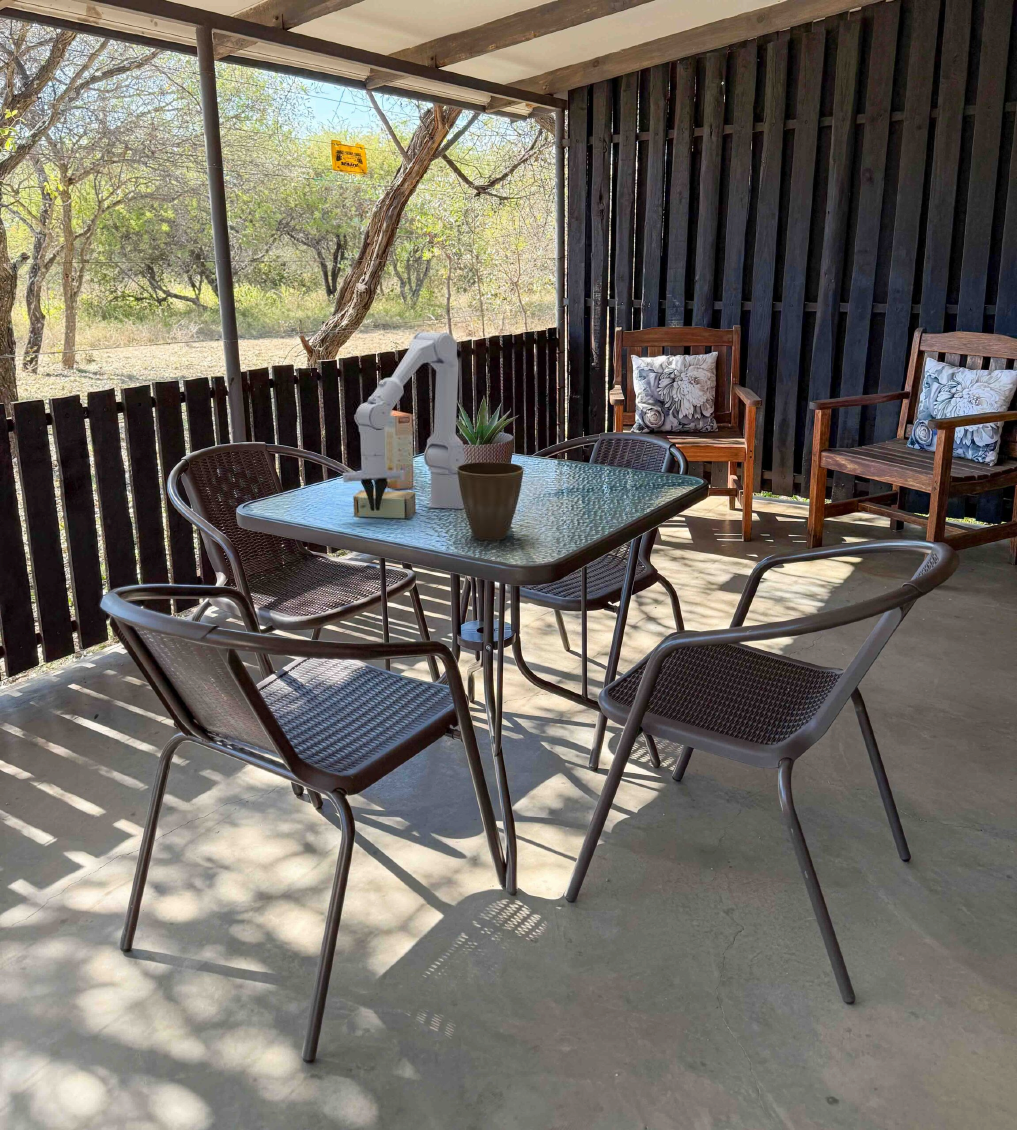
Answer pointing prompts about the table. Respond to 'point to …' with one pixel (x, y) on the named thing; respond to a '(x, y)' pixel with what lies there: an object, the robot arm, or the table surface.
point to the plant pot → (490, 497)
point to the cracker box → (399, 448)
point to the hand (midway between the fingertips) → (374, 509)
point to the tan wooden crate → (388, 495)
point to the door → (385, 508)
